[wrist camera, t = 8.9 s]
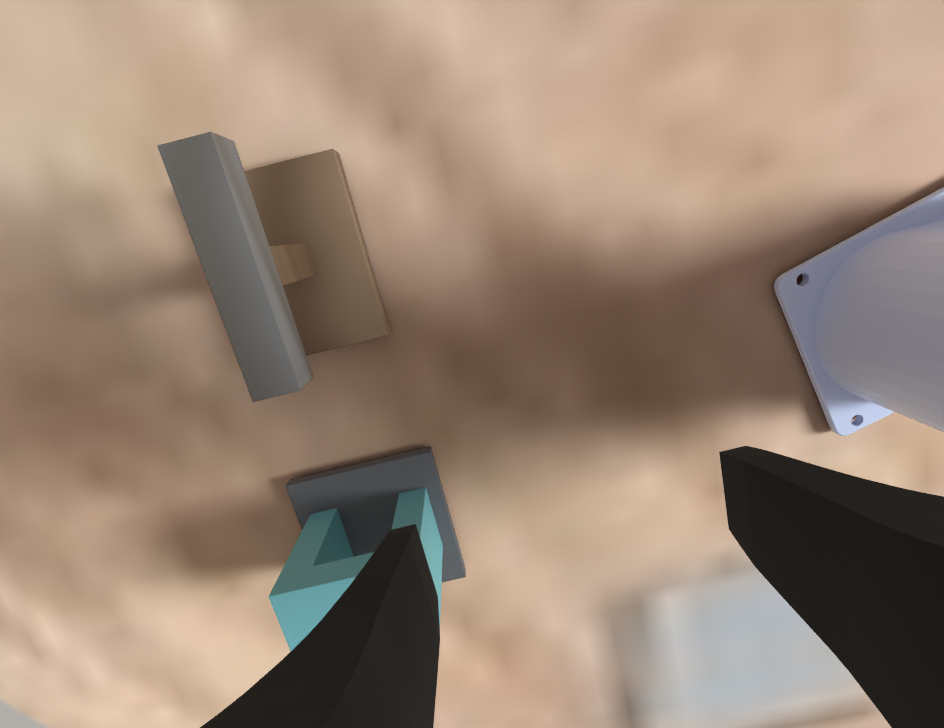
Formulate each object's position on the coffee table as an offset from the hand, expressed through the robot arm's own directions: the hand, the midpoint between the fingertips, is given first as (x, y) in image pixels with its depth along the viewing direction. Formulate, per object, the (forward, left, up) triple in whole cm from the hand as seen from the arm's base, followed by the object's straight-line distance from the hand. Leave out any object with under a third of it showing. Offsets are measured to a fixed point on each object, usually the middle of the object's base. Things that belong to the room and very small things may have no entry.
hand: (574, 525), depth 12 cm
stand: (+5, -9, -10) cm, 15 cm away
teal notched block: (+8, +2, -10) cm, 13 cm away
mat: (+9, +3, -10) cm, 14 cm away
